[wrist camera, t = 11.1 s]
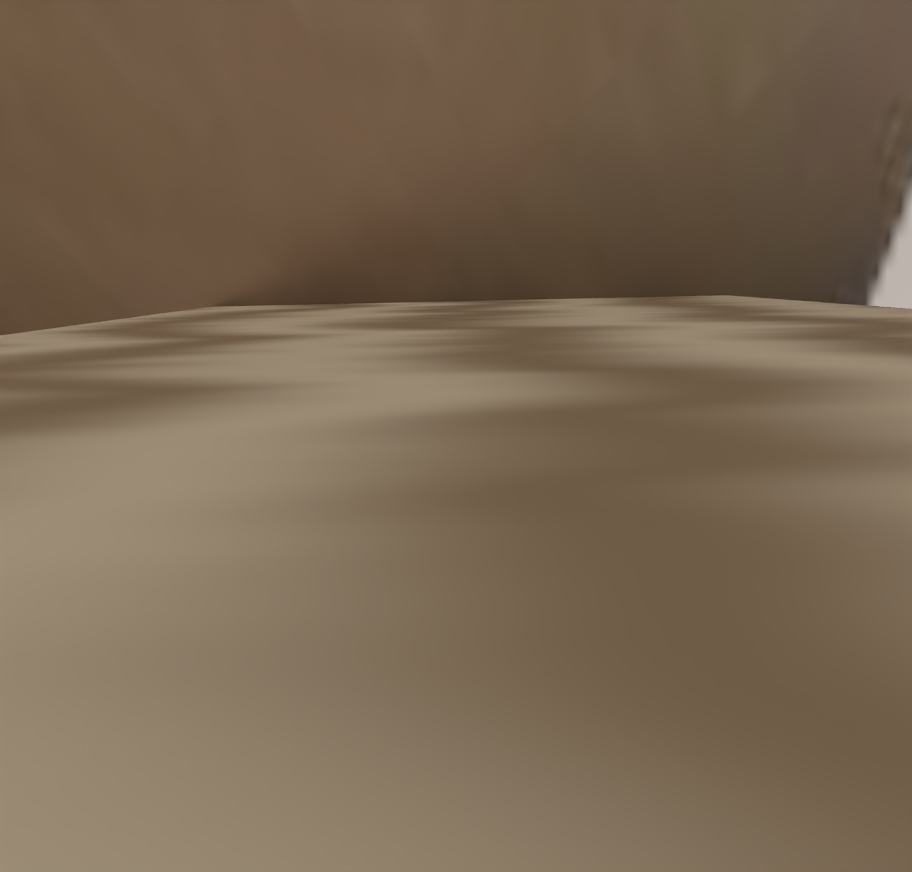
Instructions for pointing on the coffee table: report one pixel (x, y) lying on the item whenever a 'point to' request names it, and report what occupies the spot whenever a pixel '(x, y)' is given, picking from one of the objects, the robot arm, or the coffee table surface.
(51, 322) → the coffee table surface
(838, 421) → the board
